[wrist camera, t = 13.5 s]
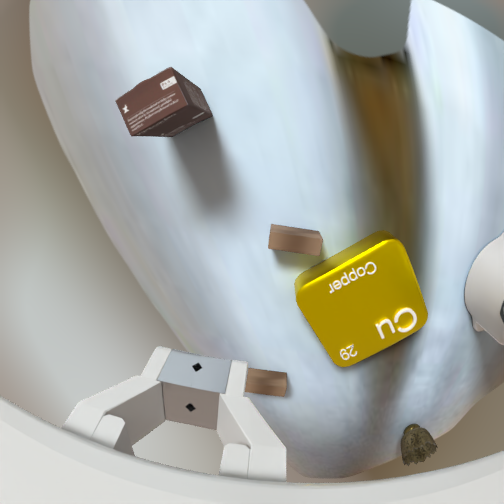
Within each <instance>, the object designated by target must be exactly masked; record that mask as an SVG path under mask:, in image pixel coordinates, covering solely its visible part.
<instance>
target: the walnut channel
mask: <svg viewBox="0 0 504 504" xmlns="http://www.w3.org/2000/svg"><path fill="white" fill-rule="evenodd" d="M322 242H323V239H322V237H321V235H320V233H319V231H313V230H307V229H301V228H294V227H287V226H281V225H274V224H271V229H270V236H269V245H268V248H269V249H275V250H282V251H289V252H296V253H303V254H309V255H316V256H320V251H321V247H322ZM286 389H287V374H286V373H284V372H275V371H267V370H260V369H252V368H248V374H247V381H246V388H245V392H250V393H257V394H265V395H273V396H283V397H284V396H285V392H286Z"/></svg>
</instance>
